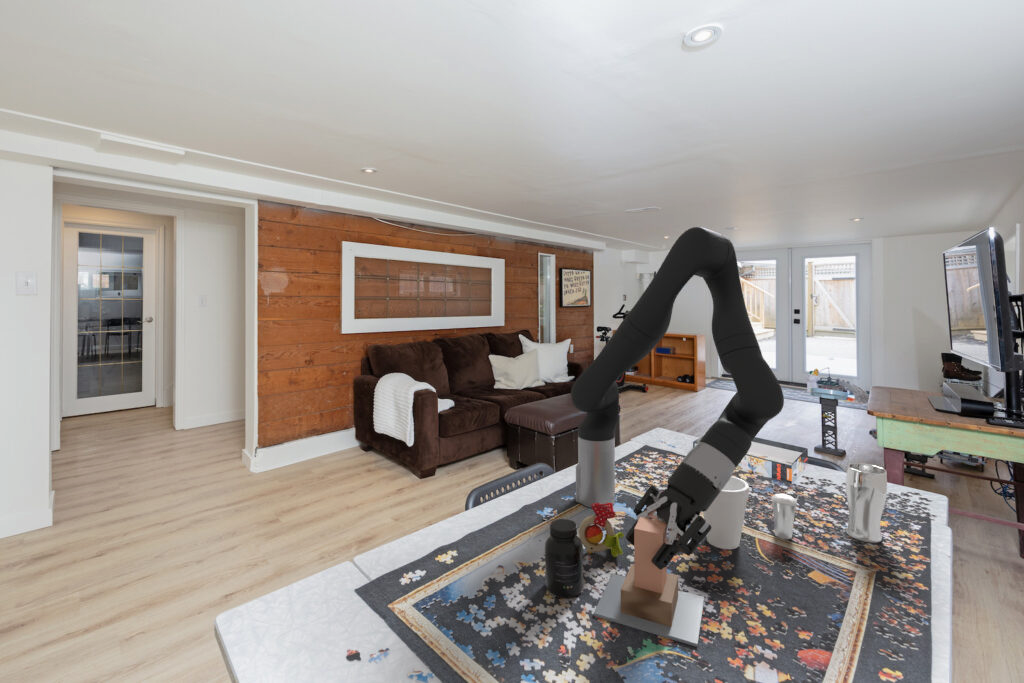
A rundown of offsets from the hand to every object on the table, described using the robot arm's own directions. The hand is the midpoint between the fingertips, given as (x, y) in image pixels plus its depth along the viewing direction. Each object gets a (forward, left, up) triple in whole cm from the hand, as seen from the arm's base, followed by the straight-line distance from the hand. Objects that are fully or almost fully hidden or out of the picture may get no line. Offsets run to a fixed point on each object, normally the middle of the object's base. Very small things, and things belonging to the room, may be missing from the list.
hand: (642, 553), depth 76 cm
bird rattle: (-11, +14, -10) cm, 21 cm away
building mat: (+1, +1, -10) cm, 10 cm away
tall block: (+1, +1, -5) cm, 6 cm away
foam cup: (+11, +29, -10) cm, 33 cm away
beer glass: (+38, +44, -10) cm, 59 cm away
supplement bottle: (-14, 0, -10) cm, 17 cm away
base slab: (+1, +1, -9) cm, 10 cm away
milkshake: (+23, +37, -10) cm, 45 cm away
